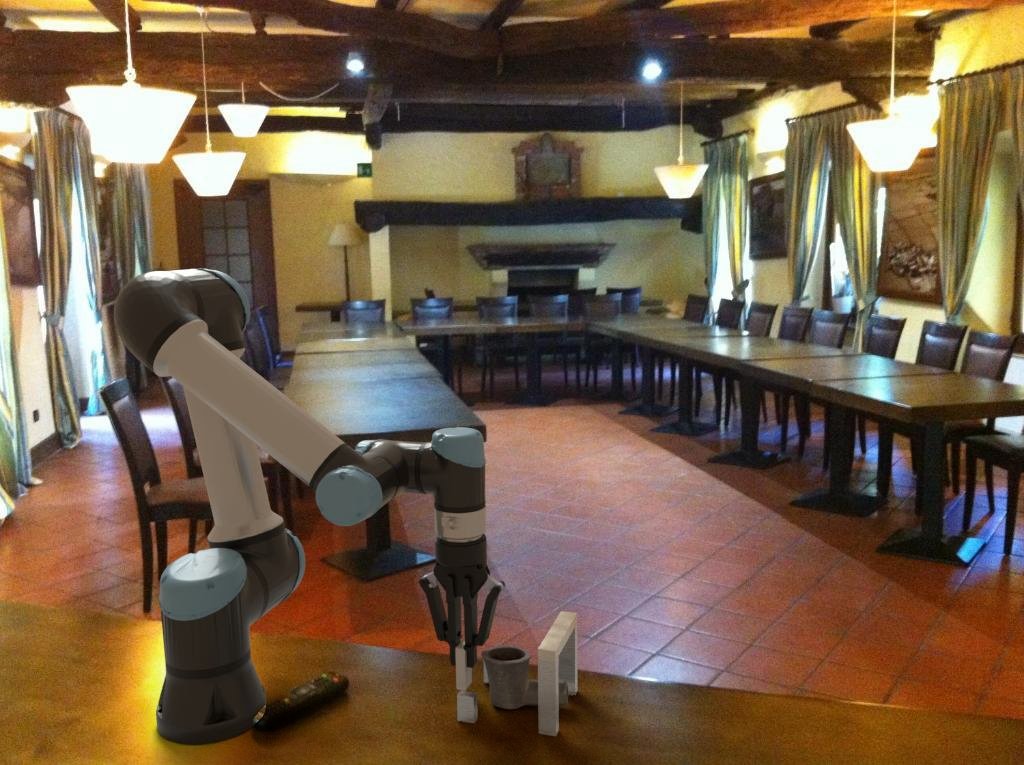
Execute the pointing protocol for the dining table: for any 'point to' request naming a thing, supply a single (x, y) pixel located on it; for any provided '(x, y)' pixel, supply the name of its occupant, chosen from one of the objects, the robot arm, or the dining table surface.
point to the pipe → (514, 678)
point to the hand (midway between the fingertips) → (464, 685)
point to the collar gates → (542, 675)
